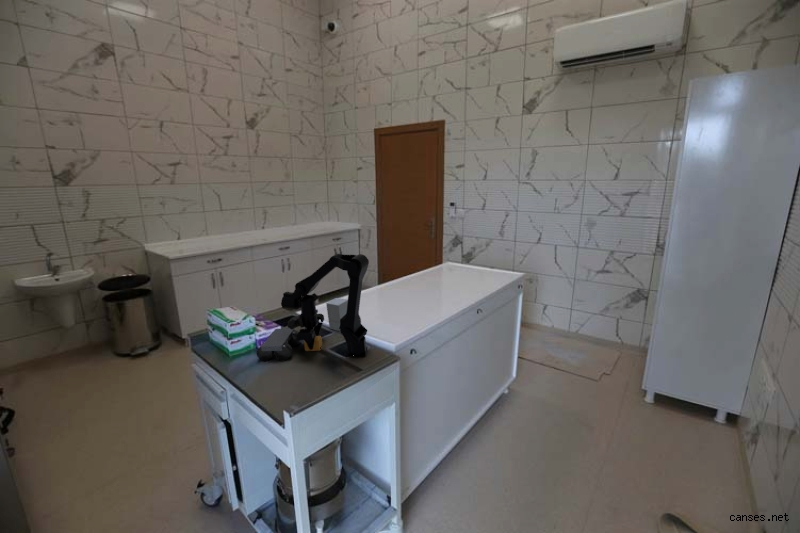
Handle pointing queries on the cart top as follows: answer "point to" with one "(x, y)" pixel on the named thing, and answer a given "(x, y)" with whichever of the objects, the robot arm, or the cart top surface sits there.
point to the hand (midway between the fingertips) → (313, 345)
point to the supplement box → (336, 312)
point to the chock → (316, 344)
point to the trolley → (278, 345)
